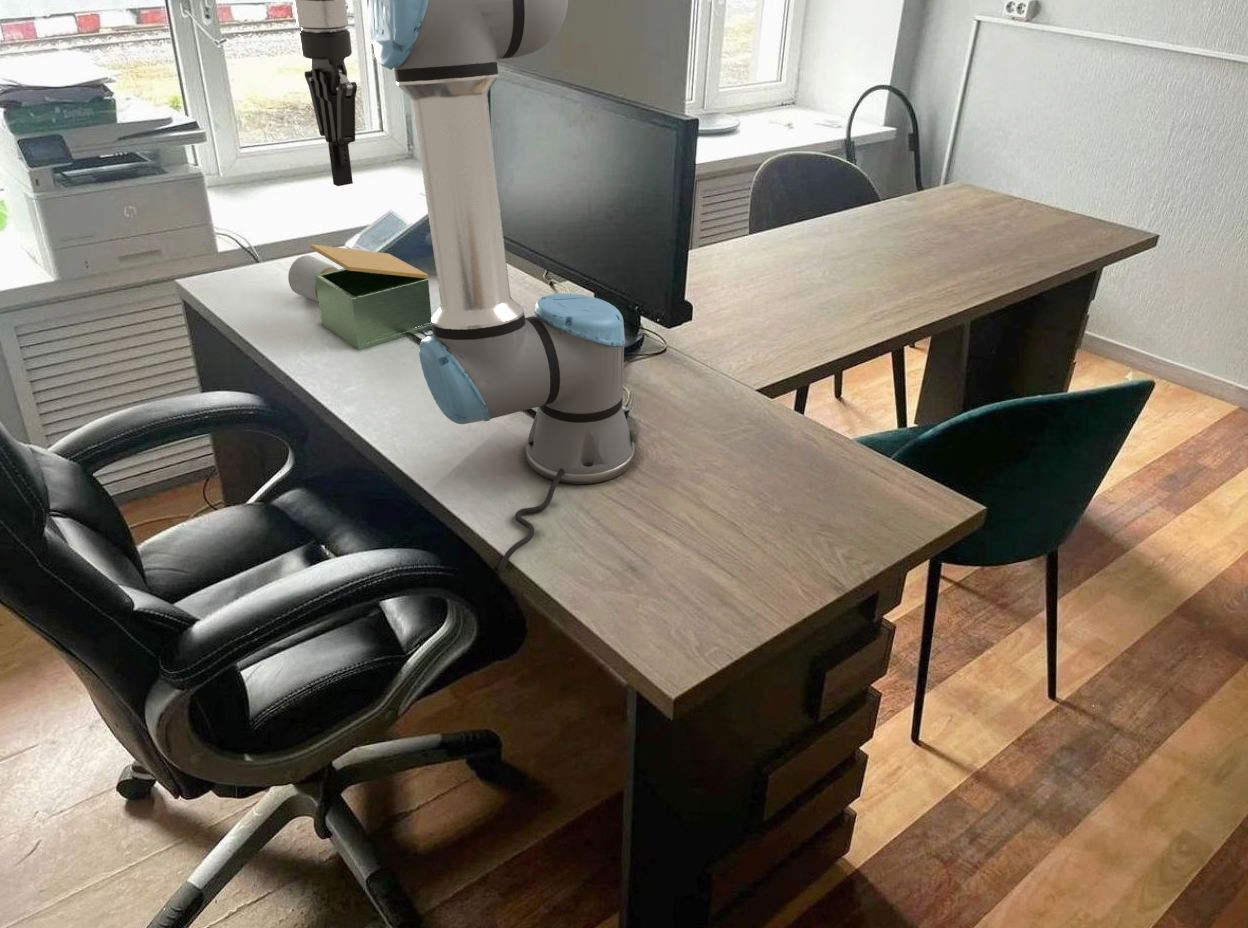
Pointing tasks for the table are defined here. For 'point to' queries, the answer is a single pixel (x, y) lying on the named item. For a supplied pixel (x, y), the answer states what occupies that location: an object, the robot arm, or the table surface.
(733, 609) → the table surface
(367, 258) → the lid
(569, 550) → the table surface
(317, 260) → the ceramic mug
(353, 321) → the tea tin
